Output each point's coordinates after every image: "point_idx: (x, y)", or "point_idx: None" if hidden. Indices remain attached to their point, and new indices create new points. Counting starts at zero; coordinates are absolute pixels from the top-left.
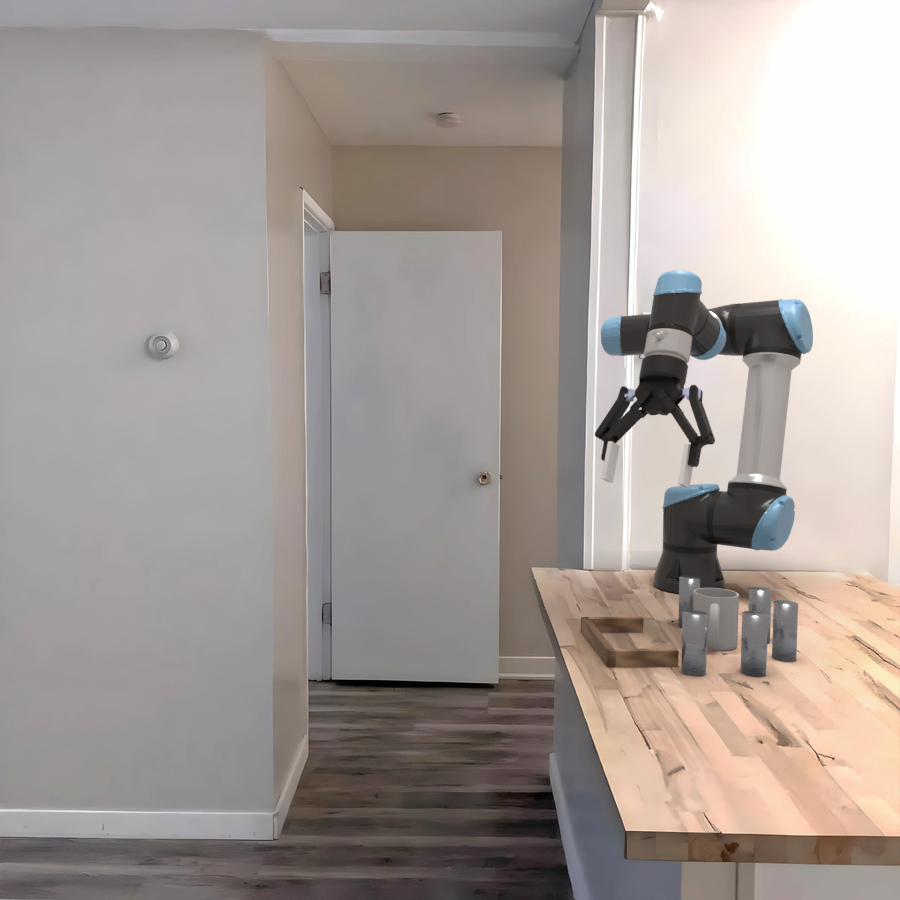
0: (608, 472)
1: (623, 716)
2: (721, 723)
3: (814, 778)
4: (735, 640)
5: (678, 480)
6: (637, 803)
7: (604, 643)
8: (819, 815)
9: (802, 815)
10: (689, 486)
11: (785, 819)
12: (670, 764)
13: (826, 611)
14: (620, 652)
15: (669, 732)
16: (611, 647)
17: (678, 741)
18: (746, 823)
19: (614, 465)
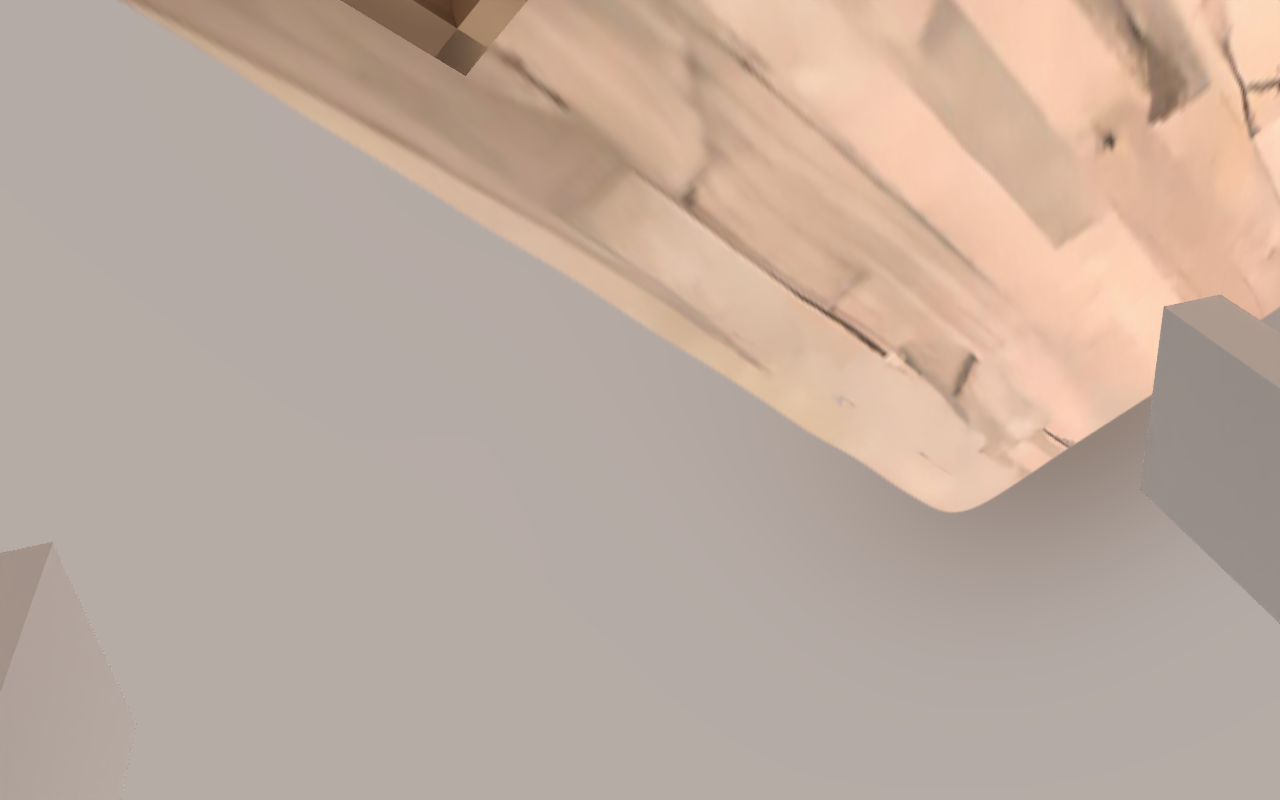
0: (99, 762)
1: (754, 291)
2: (997, 126)
3: (1228, 202)
4: None
5: (1166, 512)
6: (941, 482)
7: (368, 2)
8: None
9: None
10: (1234, 309)
11: None
12: (947, 368)
13: None
14: (500, 28)
15: (893, 270)
16: (435, 22)
17: (928, 287)
18: (1111, 404)
19: (6, 782)
